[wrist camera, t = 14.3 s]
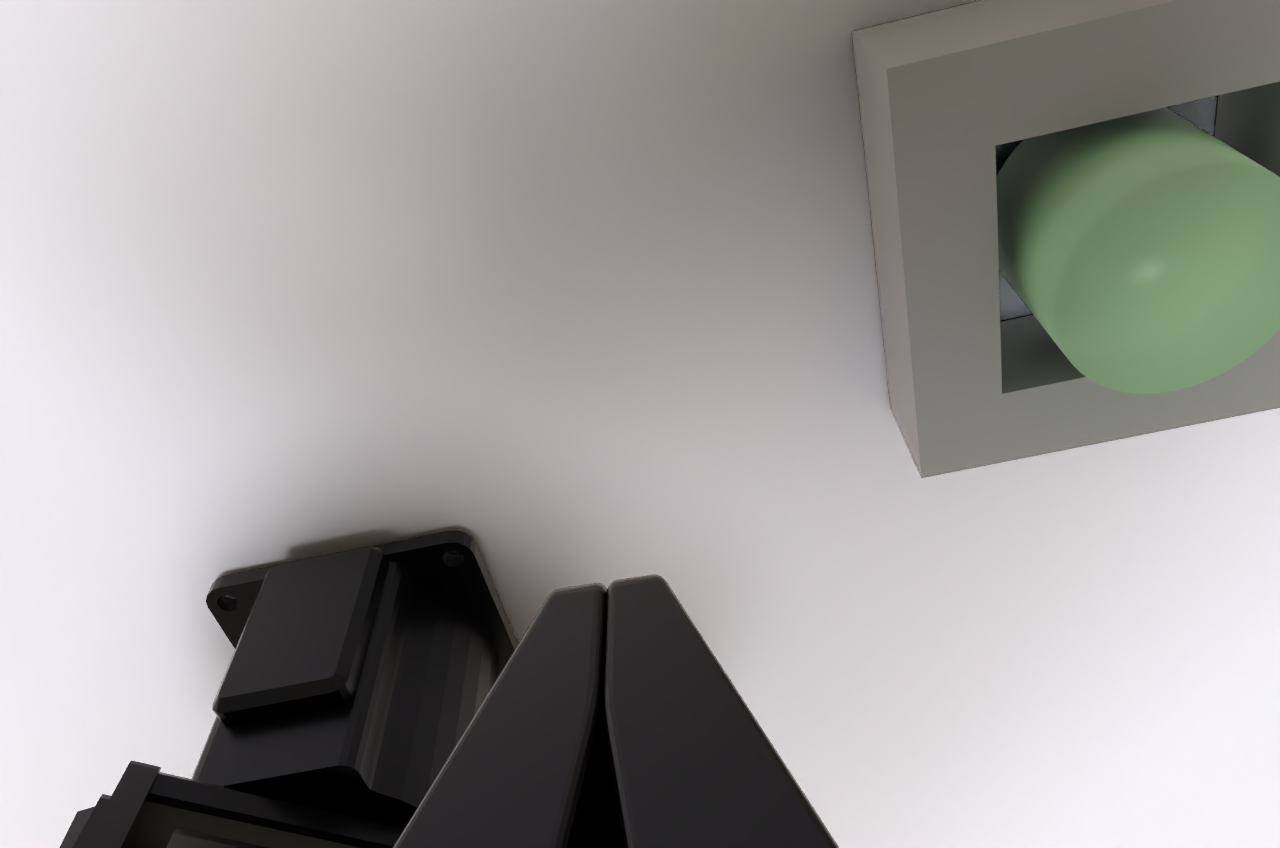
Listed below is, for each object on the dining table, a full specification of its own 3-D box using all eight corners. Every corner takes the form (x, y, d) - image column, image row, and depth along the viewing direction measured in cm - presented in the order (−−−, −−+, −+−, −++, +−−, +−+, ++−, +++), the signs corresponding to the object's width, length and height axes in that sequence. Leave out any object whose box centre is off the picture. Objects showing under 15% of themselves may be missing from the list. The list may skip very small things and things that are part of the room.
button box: (1272, 331, 21) (1346, 394, 19) (890, 408, 22) (921, 478, 20) (1333, -85, 16) (1439, -62, 14) (852, 31, 17) (887, 69, 15)
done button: (1193, 276, 20) (1296, 366, 17) (987, 319, 20) (1054, 415, 17) (1211, 72, 17) (1334, 135, 14) (980, 124, 18) (1055, 197, 15)
